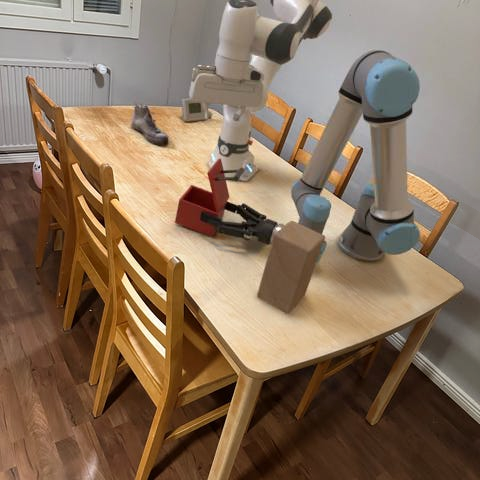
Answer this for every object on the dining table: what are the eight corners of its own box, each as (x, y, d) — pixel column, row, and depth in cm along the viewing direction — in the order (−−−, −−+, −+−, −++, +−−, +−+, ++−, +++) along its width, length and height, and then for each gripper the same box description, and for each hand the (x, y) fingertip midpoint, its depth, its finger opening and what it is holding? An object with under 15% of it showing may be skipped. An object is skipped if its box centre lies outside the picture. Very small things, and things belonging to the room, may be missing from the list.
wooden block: (289, 314, 113) (310, 251, 102) (255, 296, 116) (273, 233, 106) (304, 296, 120) (326, 235, 110) (273, 279, 124) (291, 219, 113)
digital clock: (183, 122, 219) (186, 101, 213) (175, 116, 224) (177, 95, 219) (211, 122, 228) (214, 101, 222) (202, 115, 233) (205, 95, 228)
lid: (207, 172, 125) (234, 171, 122) (218, 158, 133) (244, 156, 130) (216, 213, 131) (243, 212, 129) (227, 197, 139) (251, 196, 137)
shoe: (172, 146, 190) (175, 119, 184) (147, 147, 185) (150, 118, 178) (151, 125, 207) (154, 99, 201) (129, 125, 202) (130, 98, 195)
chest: (174, 222, 138) (179, 199, 132) (186, 206, 146) (191, 184, 140) (211, 236, 137) (217, 214, 131) (221, 220, 145) (228, 198, 139)
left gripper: (196, 67, 109) (189, 121, 116) (270, 75, 117) (259, 126, 124) (189, 60, 114) (183, 113, 121) (260, 69, 122) (250, 118, 129)
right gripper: (257, 262, 125) (189, 234, 130) (283, 229, 144) (223, 205, 149) (263, 240, 121) (193, 212, 126) (289, 209, 140) (227, 185, 145)
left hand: (222, 119), depth 123 cm, fingers open, 7 cm apart
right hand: (209, 208), depth 138 cm, fingers closed on chest, 11 cm apart
